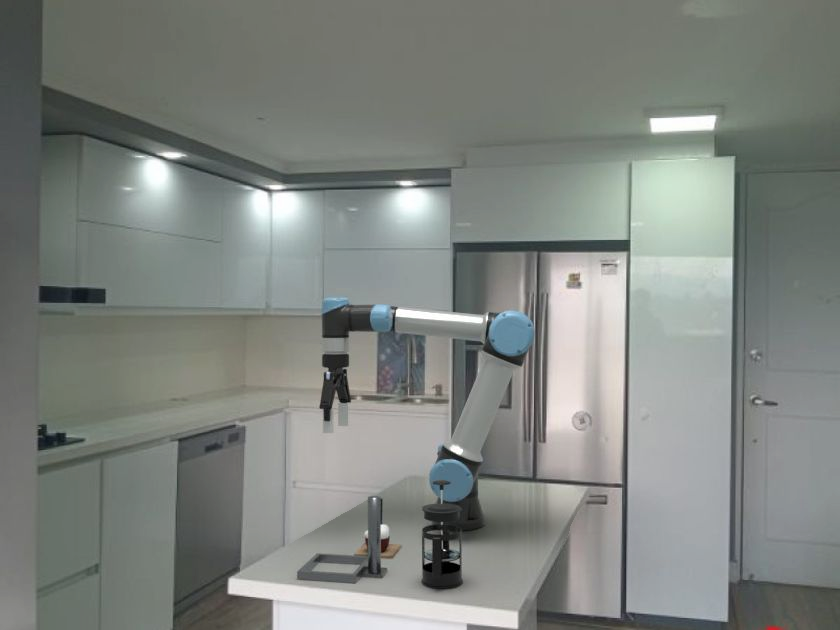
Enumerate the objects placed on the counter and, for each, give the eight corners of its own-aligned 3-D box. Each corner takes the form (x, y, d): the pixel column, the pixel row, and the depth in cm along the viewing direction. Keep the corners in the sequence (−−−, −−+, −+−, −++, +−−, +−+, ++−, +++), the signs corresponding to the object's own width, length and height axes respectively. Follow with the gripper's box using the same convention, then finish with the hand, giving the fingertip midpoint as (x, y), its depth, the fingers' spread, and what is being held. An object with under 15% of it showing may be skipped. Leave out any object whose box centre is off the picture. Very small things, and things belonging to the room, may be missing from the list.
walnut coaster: (401, 546, 207) (401, 544, 207) (392, 558, 197) (392, 556, 197) (364, 544, 209) (364, 542, 209) (354, 556, 199) (354, 553, 199)
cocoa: (380, 558, 197) (380, 510, 196) (358, 553, 200) (358, 507, 199) (397, 546, 205) (397, 500, 205) (376, 542, 208) (376, 497, 207)
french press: (426, 573, 186) (426, 475, 186) (466, 575, 184) (465, 476, 184) (415, 590, 175) (415, 486, 174) (457, 593, 173) (457, 487, 172)
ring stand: (391, 565, 192) (391, 490, 192) (377, 584, 178) (376, 504, 178) (317, 560, 196) (316, 487, 196) (297, 579, 182) (296, 501, 182)
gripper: (336, 350, 234) (336, 422, 234) (307, 355, 209) (307, 435, 209) (360, 351, 232) (361, 423, 232) (334, 355, 208) (335, 436, 208)
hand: (335, 429), depth 221 cm, fingers open, 13 cm apart
